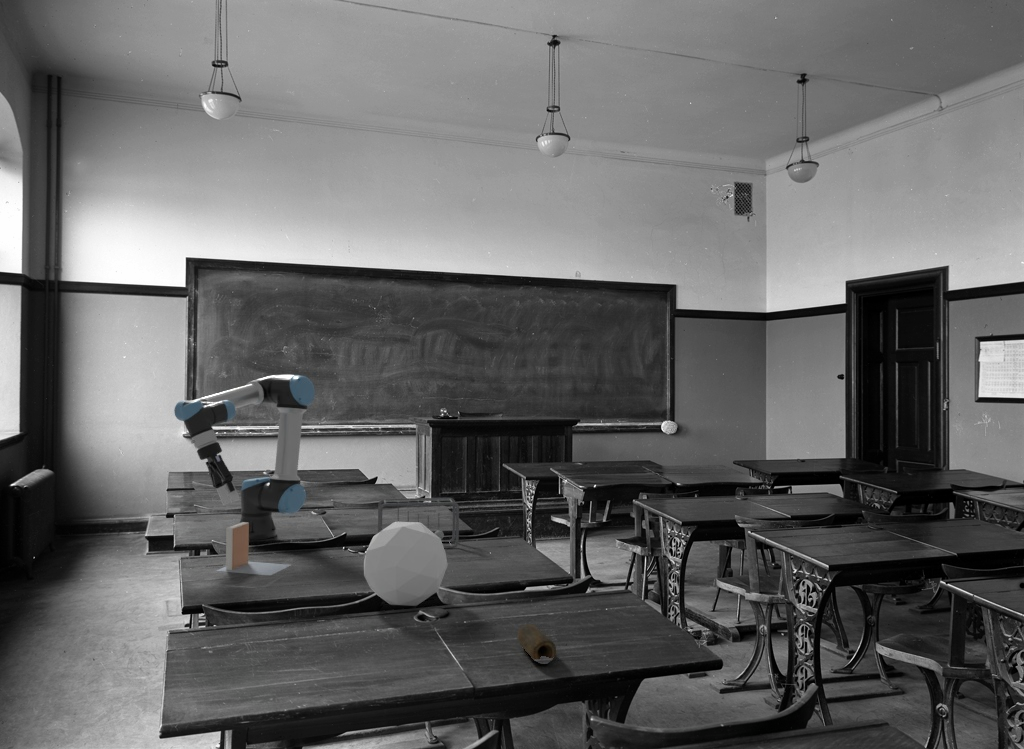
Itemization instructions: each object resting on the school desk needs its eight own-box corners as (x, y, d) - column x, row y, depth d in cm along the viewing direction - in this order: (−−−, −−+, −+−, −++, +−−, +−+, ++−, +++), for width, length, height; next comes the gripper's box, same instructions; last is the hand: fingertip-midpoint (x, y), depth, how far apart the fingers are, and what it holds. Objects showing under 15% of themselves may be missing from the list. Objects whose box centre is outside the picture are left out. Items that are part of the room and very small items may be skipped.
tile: (225, 569, 265) (226, 527, 265) (242, 562, 275) (242, 522, 274) (232, 570, 264) (233, 528, 264) (248, 563, 274) (249, 522, 274)
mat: (215, 571, 264) (215, 570, 264) (238, 561, 277) (238, 560, 277) (270, 576, 259) (270, 575, 259) (291, 566, 273) (291, 564, 273)
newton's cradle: (454, 542, 314) (455, 497, 313) (458, 548, 303) (459, 502, 303) (377, 544, 307) (378, 498, 307) (378, 551, 297) (379, 503, 297)
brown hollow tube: (561, 666, 187) (562, 638, 187) (533, 669, 185) (534, 641, 185) (538, 644, 201) (538, 618, 201) (512, 647, 199) (512, 620, 199)
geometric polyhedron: (398, 624, 240) (410, 547, 255) (459, 610, 226) (468, 529, 241) (338, 599, 226) (354, 518, 241) (399, 582, 212) (412, 498, 227)
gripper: (190, 454, 281) (213, 510, 281) (203, 444, 260) (228, 504, 260) (210, 446, 285) (234, 501, 285) (225, 435, 264) (250, 494, 264)
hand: (231, 502), depth 272 cm, fingers open, 13 cm apart
